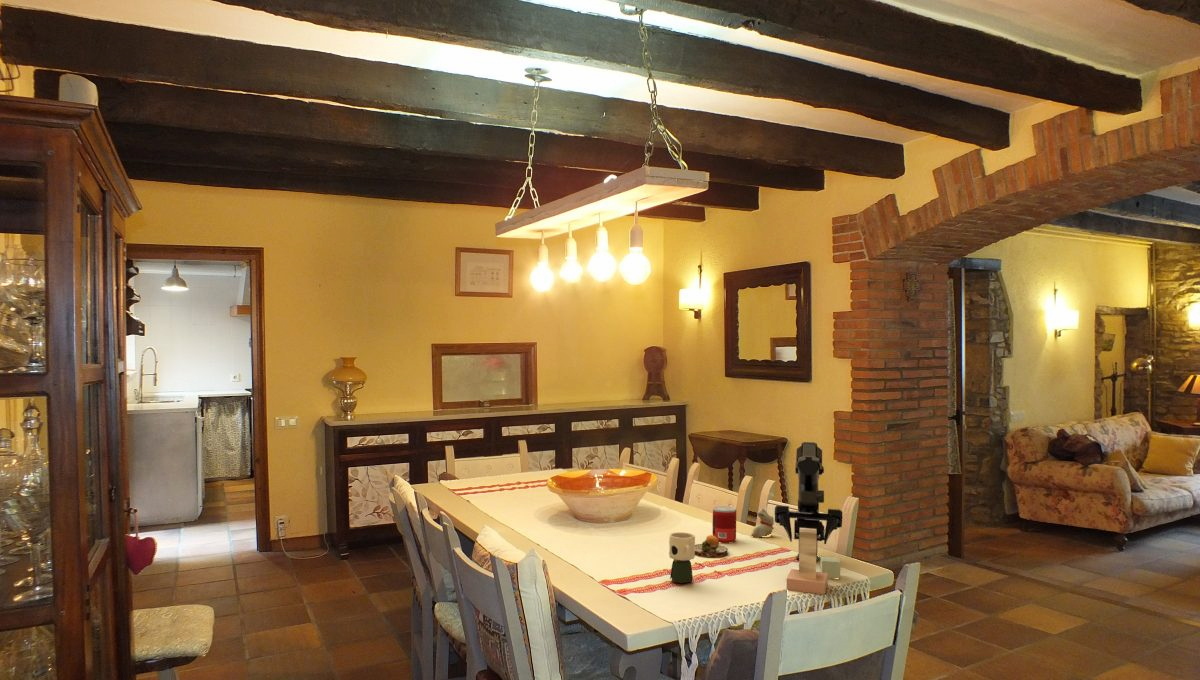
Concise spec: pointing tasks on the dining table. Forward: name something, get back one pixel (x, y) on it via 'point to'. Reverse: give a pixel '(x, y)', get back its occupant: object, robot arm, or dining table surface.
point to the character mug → (681, 556)
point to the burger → (710, 548)
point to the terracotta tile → (807, 582)
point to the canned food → (724, 524)
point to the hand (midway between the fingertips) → (807, 542)
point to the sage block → (830, 566)
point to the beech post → (807, 553)
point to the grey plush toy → (763, 524)
